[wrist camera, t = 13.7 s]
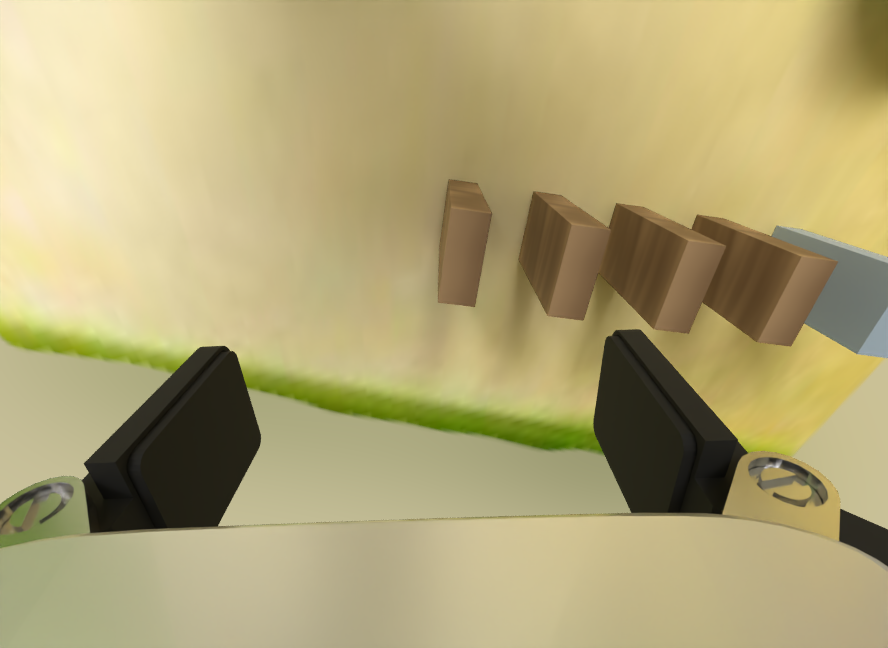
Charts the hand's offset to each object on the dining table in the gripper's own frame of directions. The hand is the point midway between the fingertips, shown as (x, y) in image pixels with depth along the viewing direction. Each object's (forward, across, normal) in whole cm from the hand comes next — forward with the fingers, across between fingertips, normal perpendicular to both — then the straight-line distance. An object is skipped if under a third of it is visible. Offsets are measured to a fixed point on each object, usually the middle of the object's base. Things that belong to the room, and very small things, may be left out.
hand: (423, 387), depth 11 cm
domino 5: (+22, -25, +5) cm, 34 cm away
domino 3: (+22, -13, +3) cm, 26 cm away
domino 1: (+22, -2, +1) cm, 22 cm away
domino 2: (+22, -8, +2) cm, 23 cm away
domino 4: (+22, -19, +4) cm, 29 cm away
